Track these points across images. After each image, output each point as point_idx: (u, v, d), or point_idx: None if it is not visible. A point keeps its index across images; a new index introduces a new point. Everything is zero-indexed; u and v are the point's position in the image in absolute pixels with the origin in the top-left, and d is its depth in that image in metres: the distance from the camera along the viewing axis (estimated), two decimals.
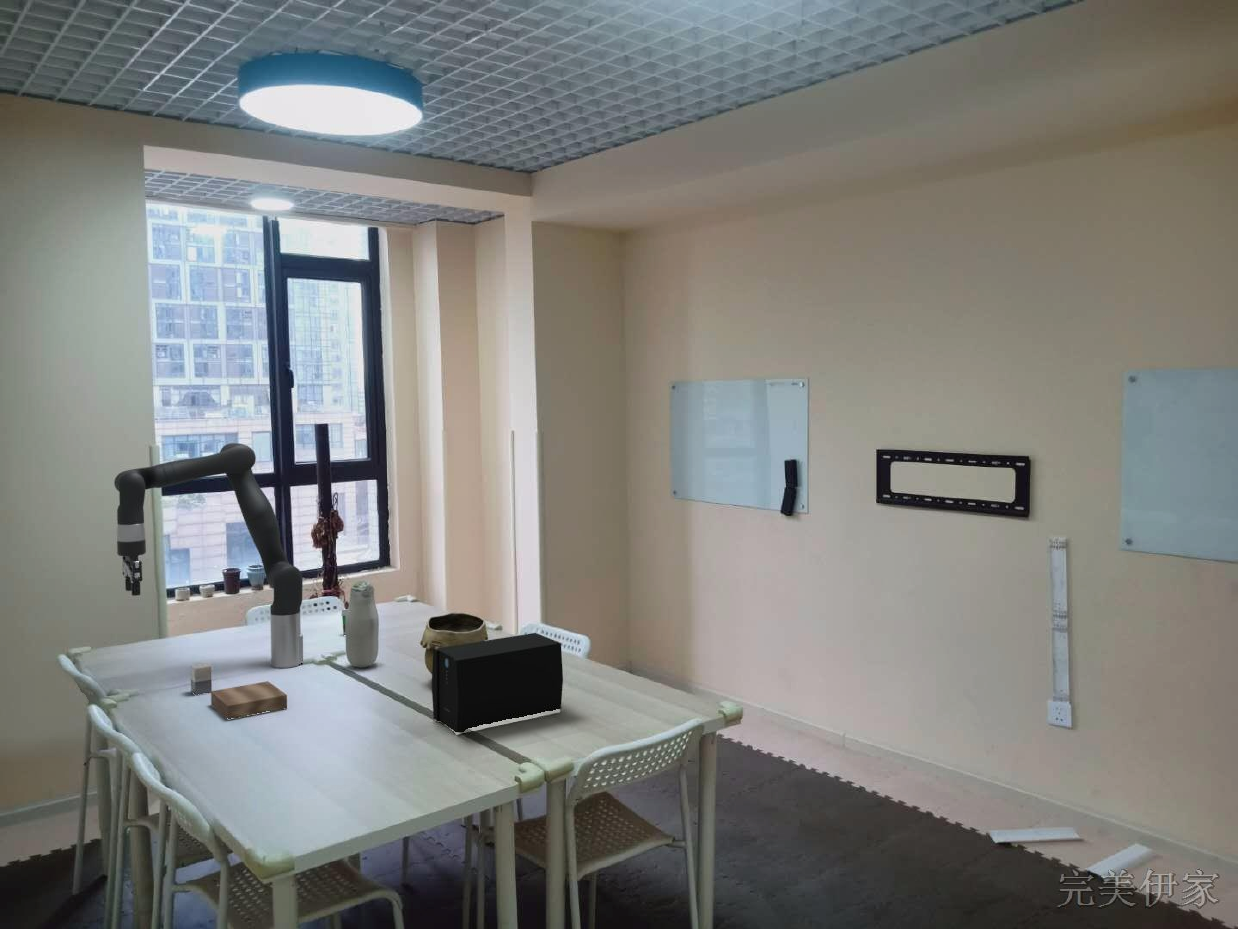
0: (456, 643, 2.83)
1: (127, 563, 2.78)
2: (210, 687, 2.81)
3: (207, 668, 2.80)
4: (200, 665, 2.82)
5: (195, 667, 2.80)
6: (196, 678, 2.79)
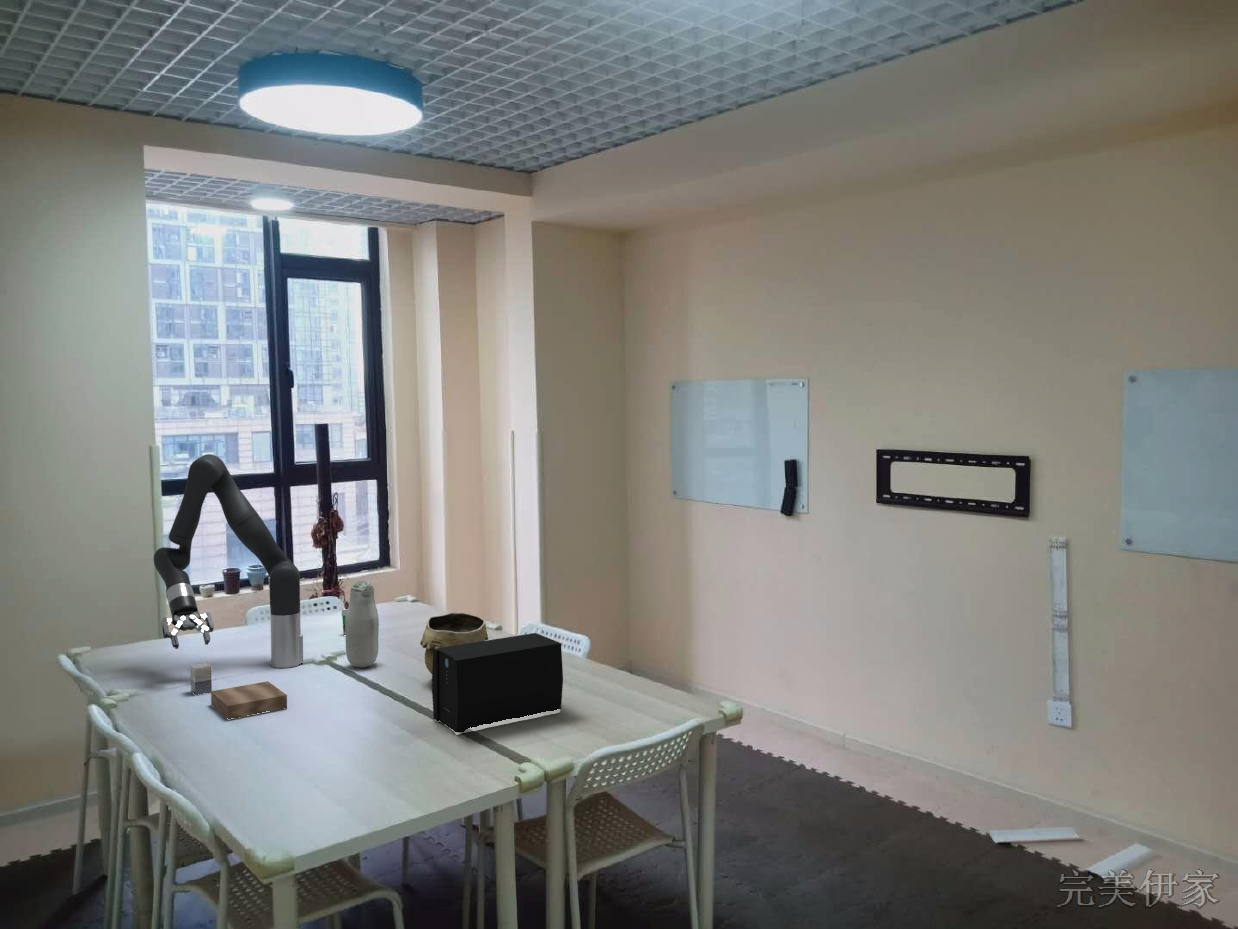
0: (456, 643, 2.83)
1: None
2: (210, 687, 2.81)
3: (207, 668, 2.80)
4: (200, 665, 2.82)
5: (195, 667, 2.80)
6: (196, 678, 2.79)
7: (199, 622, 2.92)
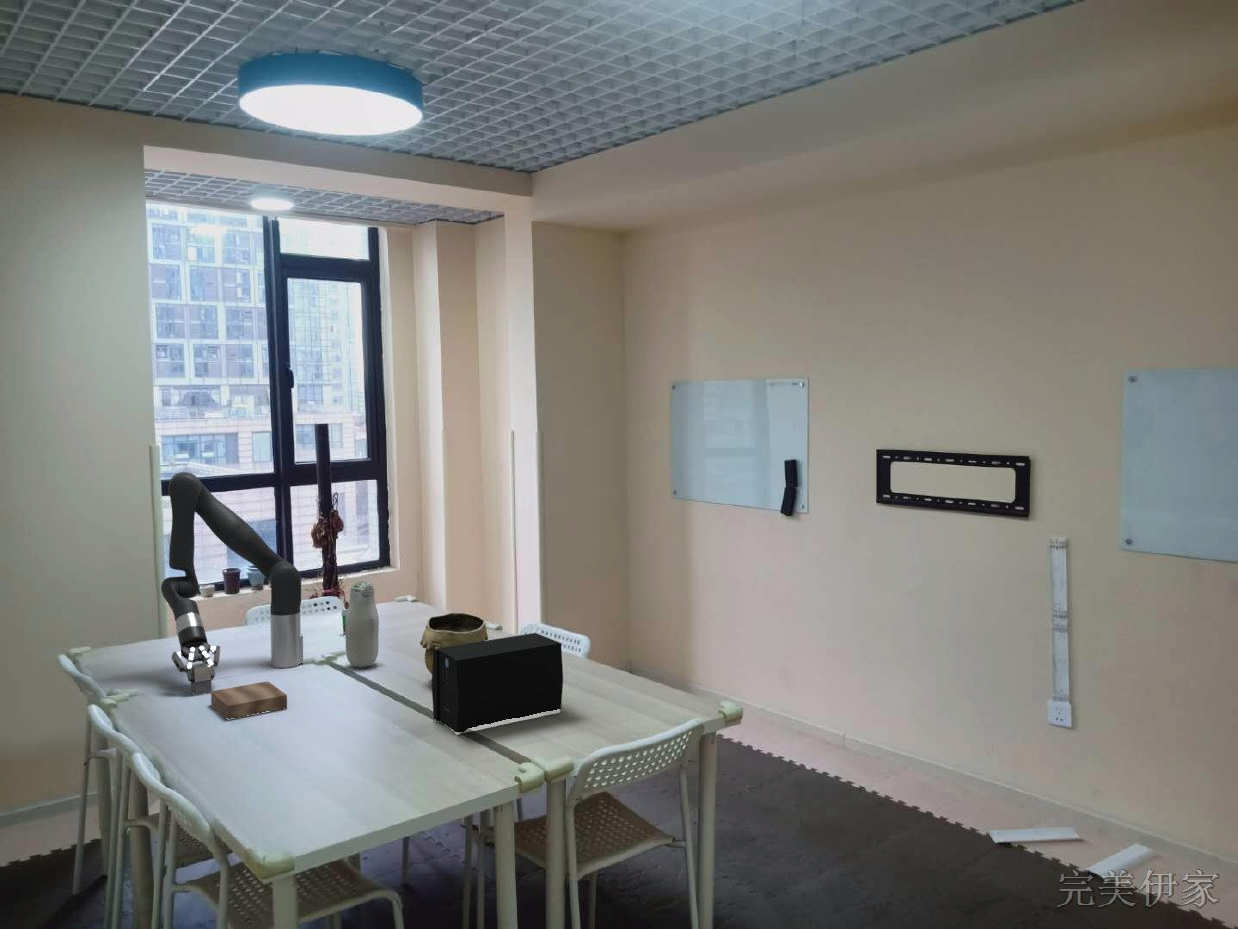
0: (456, 643, 2.83)
1: None
2: (210, 687, 2.81)
3: (207, 668, 2.80)
4: (200, 665, 2.82)
5: (195, 667, 2.80)
6: (196, 678, 2.79)
7: (206, 655, 2.84)
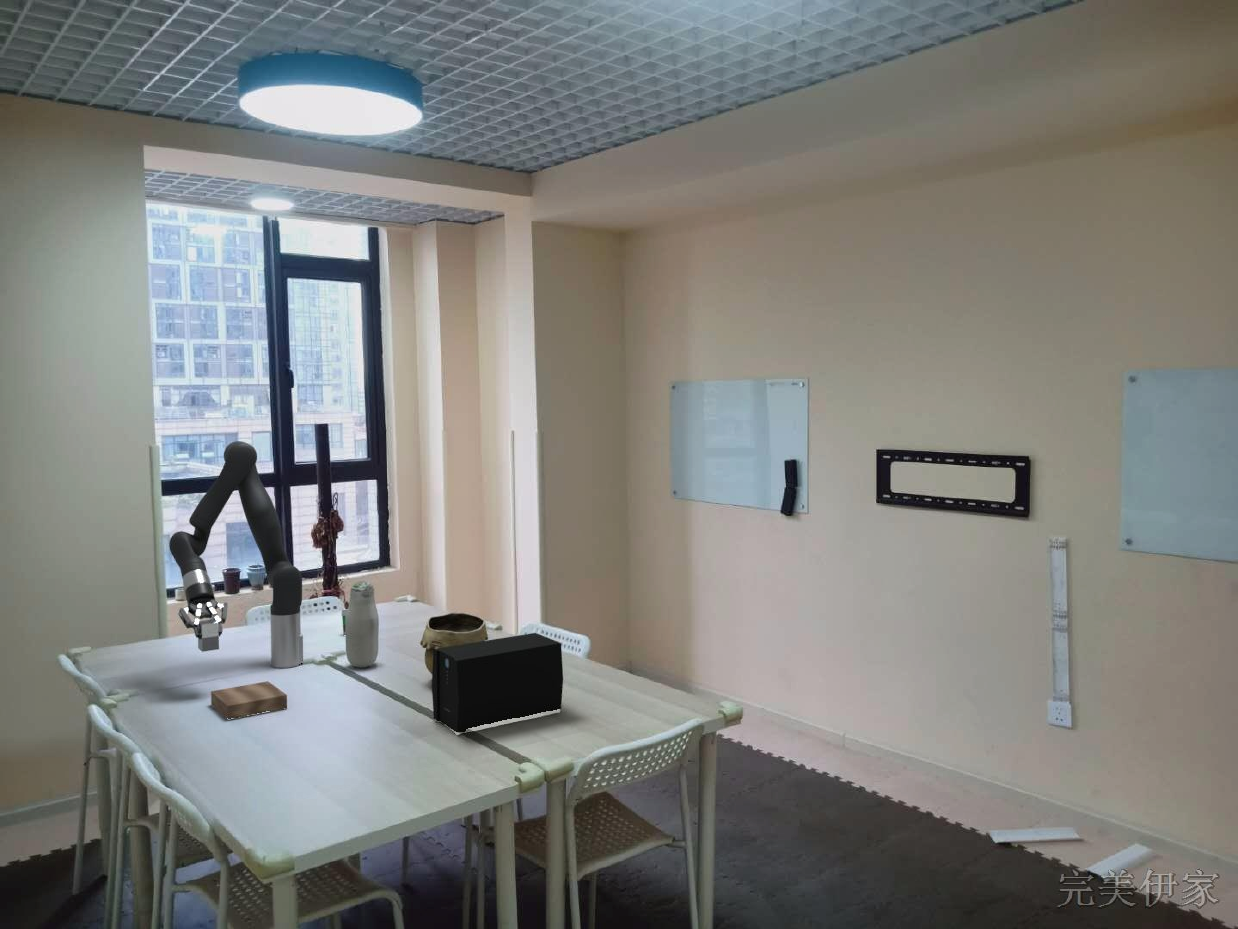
0: (456, 643, 2.83)
1: None
2: (217, 643, 2.78)
3: (214, 624, 2.77)
4: (207, 621, 2.78)
5: (202, 623, 2.76)
6: (203, 634, 2.75)
7: (213, 611, 2.81)
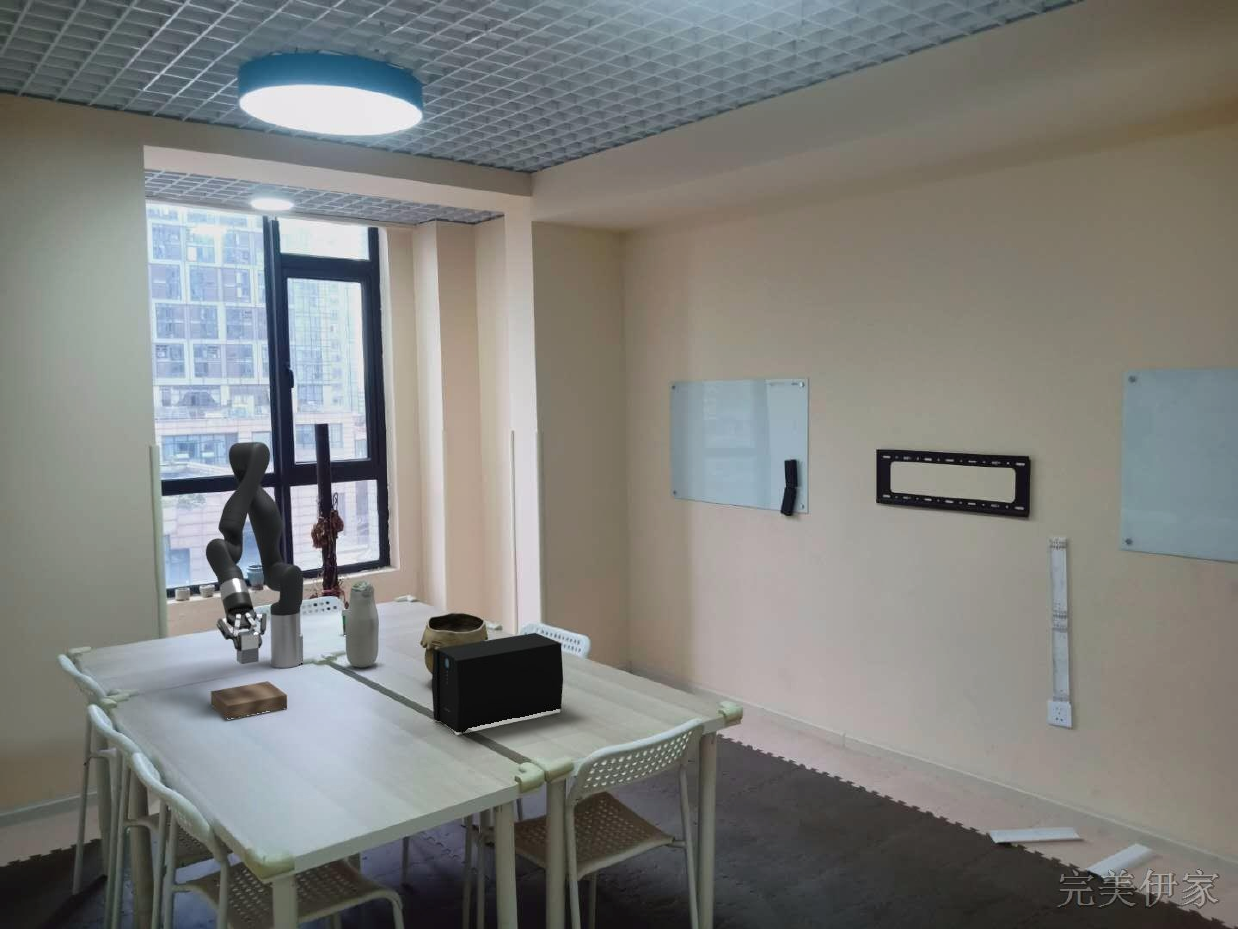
0: (456, 643, 2.83)
1: None
2: (257, 656, 2.67)
3: (254, 635, 2.67)
4: (247, 632, 2.68)
5: (242, 634, 2.66)
6: (243, 646, 2.65)
7: (253, 622, 2.70)
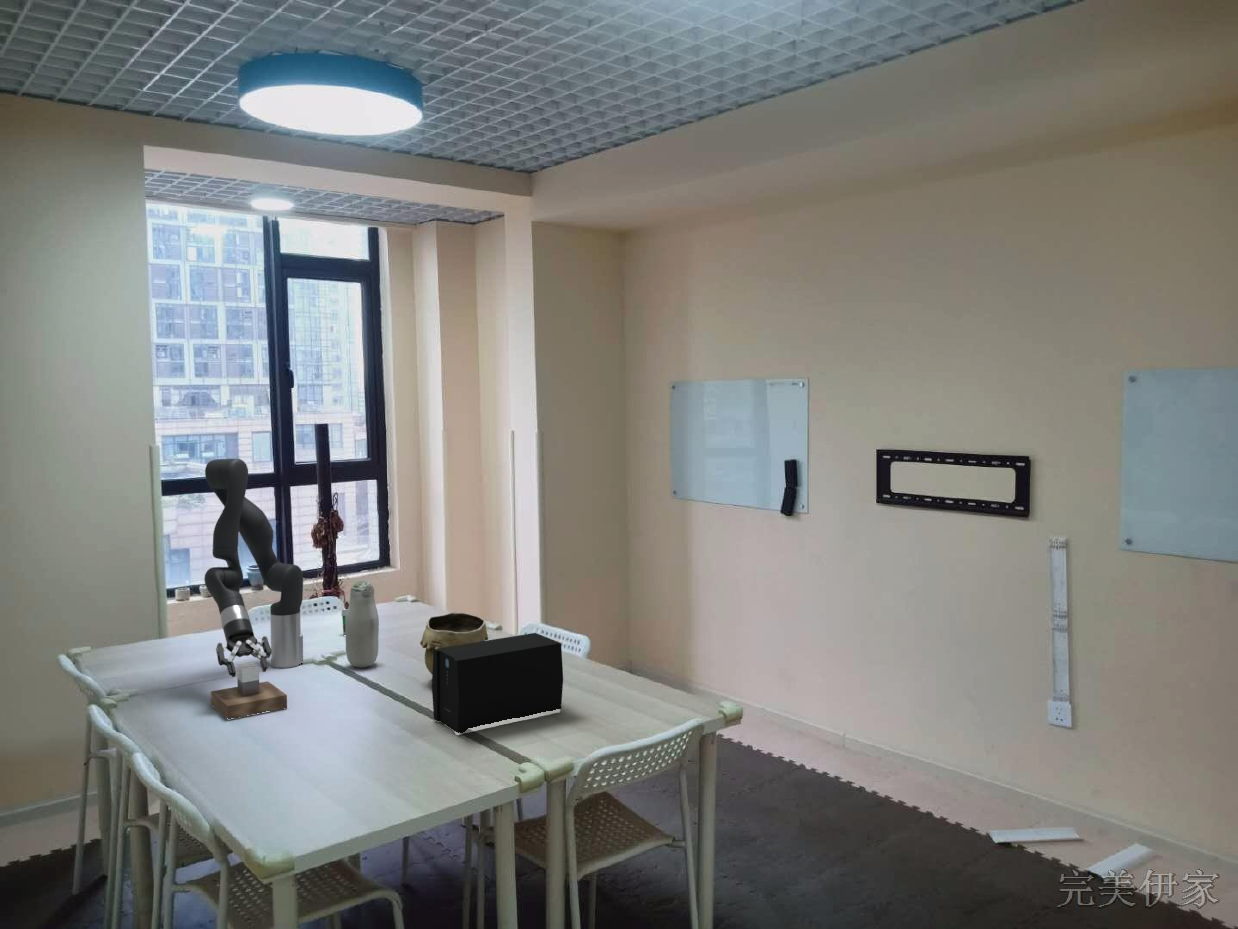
0: (456, 643, 2.83)
1: None
2: (258, 688, 2.68)
3: (255, 667, 2.67)
4: (247, 665, 2.69)
5: (242, 667, 2.66)
6: (243, 678, 2.65)
7: (256, 647, 2.71)
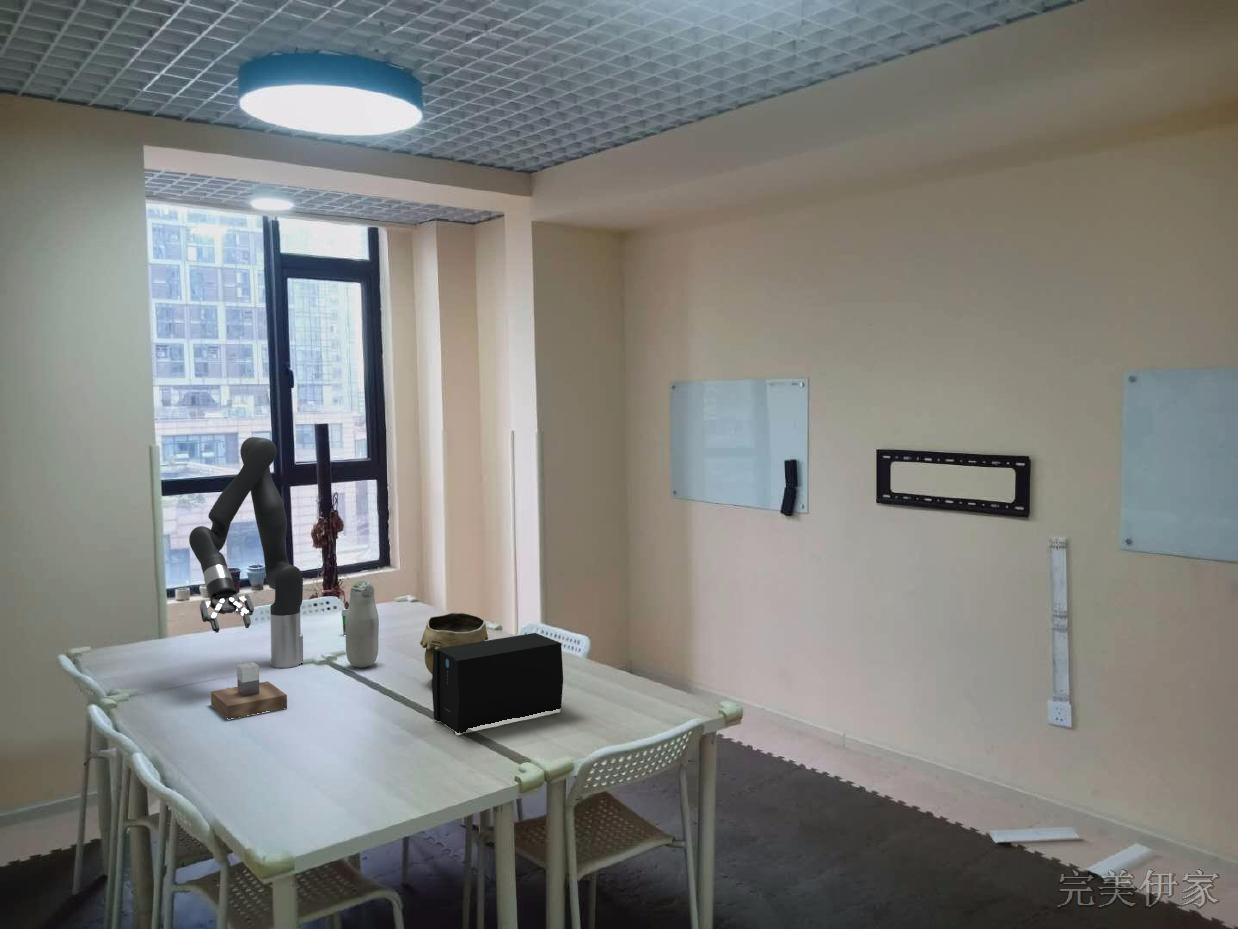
0: (456, 643, 2.83)
1: None
2: (258, 688, 2.68)
3: (255, 667, 2.67)
4: (247, 665, 2.69)
5: (242, 667, 2.66)
6: (243, 678, 2.65)
7: (238, 605, 2.80)
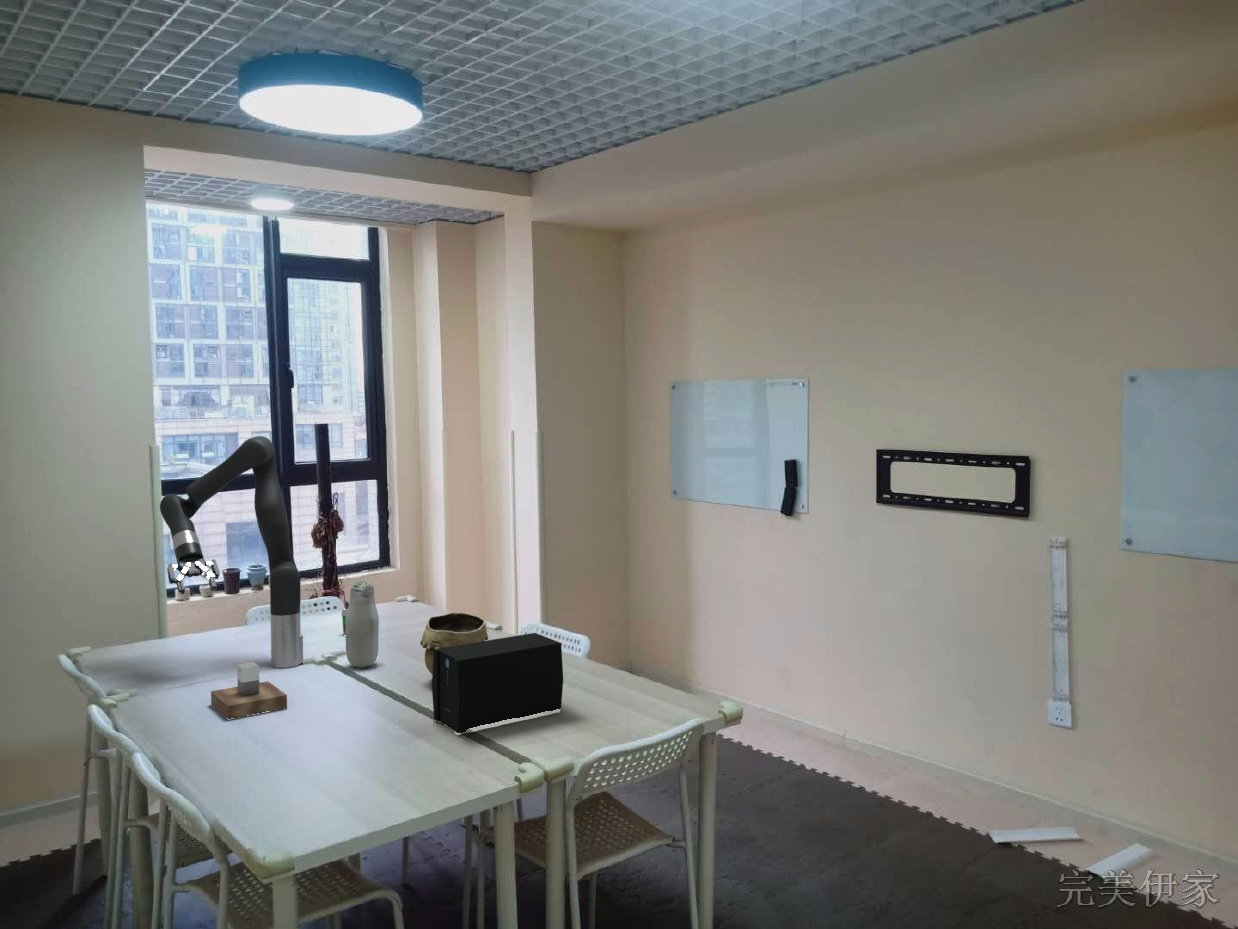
0: (456, 643, 2.83)
1: None
2: (258, 688, 2.68)
3: (255, 667, 2.67)
4: (247, 665, 2.69)
5: (242, 667, 2.66)
6: (243, 678, 2.65)
7: (205, 568, 2.92)
